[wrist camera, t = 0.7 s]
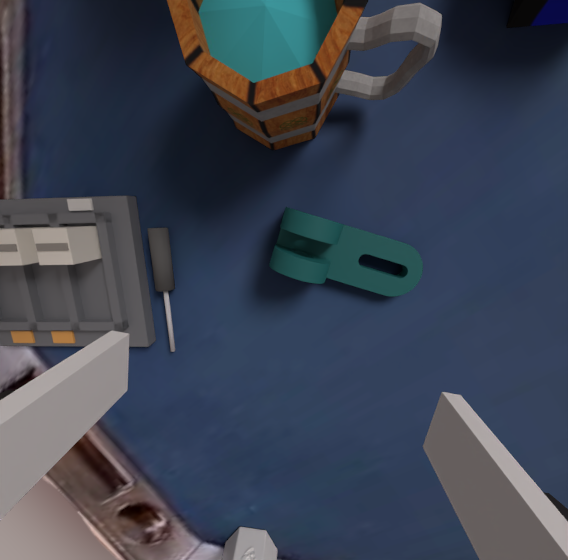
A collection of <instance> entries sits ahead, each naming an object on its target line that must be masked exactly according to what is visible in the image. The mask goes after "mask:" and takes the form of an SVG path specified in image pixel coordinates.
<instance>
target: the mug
mask: <svg viewBox="0 0 568 560" xmlns="http://www.w3.org/2000/svg"><path fill="white" fill-rule="evenodd" d="M167 2H168V6H169V9H170V12H171V16H172V19H173V22H174V26H175V29H176V33H177V36H178V39H179V43H180V46H181V49H182V53H183V56H184V60H185V63H186V65H187V66H188V67H189V68H190V69H192V70H193V71H194V72H195V73H196V74H198V75H199V76H200V77H201V78H202V79H203V80H204V82H205V83H206V84H207V86H208V87H209V88H210V90H211V91H212V93H213V95H214V97H215V99H216V101H217V103H218V105H219V106H220V107H222V108H223V109H224V110H225V111H226V112H227V113H228V114H229V115H230V117H231V118H232V119H233V122H234V124H235V127H236V128H237V129H239V130H240V131H242V132H244V133H245V134H247V135H249V136H250V137H252V138H253V139H255V140H257V141H258V142H260V143H262V144H263V145H265V146H267V147H268V148H270V149H271V150H277V149H280V148H283V147H287V146H290V145H293V144H297V143H300V142H303V141H307V140H310V139H313V138H315V137H316V135H317V134H318V132H319V130H320V128H321V126H322V125H323V123H324V121H325V119H326V117H327V116H328V114H329V112H330V110H331V108H332V107H333V105H334V103H335V101H336V99H337V98H338V96H339V93H341V94H346V95H351V96H356V97H360V98H364V99H368V100H384V99H386V98H388V97H390V96H392V95H395V94H396V93H398V92H399V91H400V90H401V89H402V88H403V87H404V86H405V85H406V84H407V83H408V82H409V81H410V80H411V78H412V77H413V76H414V75H415V74H416V73H417V72H418V71H419V70H420V69H421V68H422V67H423V66H424V65H425V64H427V63H428V62H429V61H430V60H431V59H432V58H433V56H434V54H435V51H436V49H437V47H438V42H439V36H440V31H441V22H442V15H441V14H440V13H439V12H437V11H435V10H433V9H431V8H429V7H427V6H425V5H423V4H421V3H415V4H408V5H401V6H396V7H394V8H392V9H390V10H388V11H385V12H383V13H381V14H379V15H376V16H373V17H361V15H362V13H363V11H364V9H365V6H366V4H367V2H368V0H167ZM406 40H414V41H416V42H418V43H419V44H418V45H417V46H416V47H415V48H414V49H413V50H412V51H411V52H410V53H409V55H408V56H407V57H406V59H405V60H404V62H403V63H402V65H401V66H400V67H399V69H398V70H397V71H396V72H395V73H393V74H391V75H389V76H384V77H371V76H368V75H364V74H361V73H356V72H352V71H347V70H345V69H346V67H347V65H348V63H349V59H350V51H351V50H360V51H365V50H369V49H373V48H376V47H378V46H381V45H384V44H386V43H389V42H396V41H406Z"/></svg>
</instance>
